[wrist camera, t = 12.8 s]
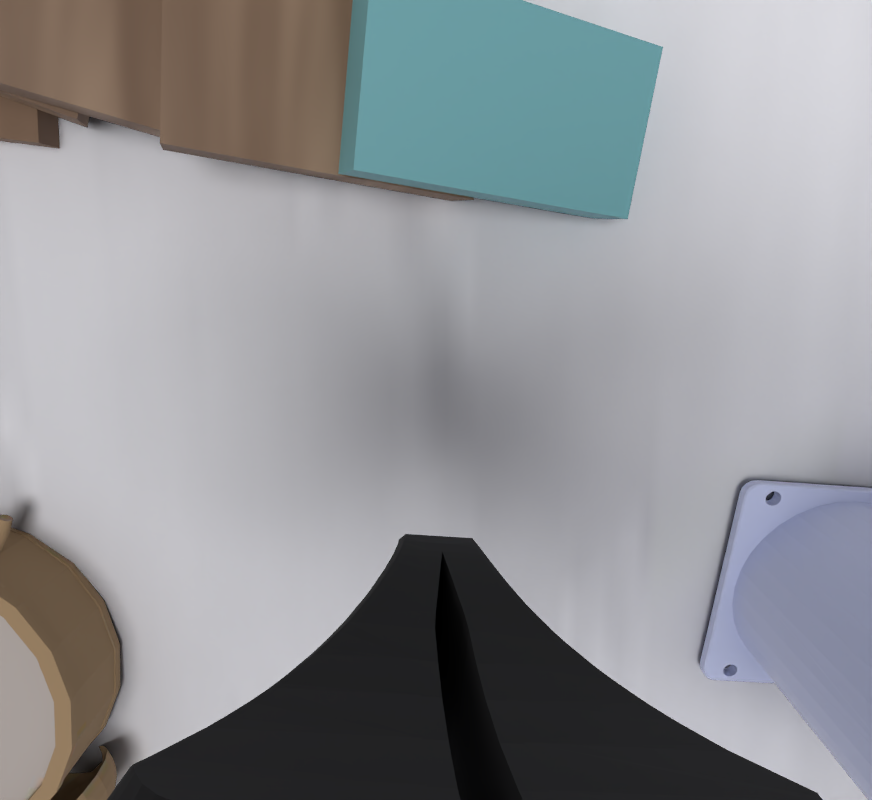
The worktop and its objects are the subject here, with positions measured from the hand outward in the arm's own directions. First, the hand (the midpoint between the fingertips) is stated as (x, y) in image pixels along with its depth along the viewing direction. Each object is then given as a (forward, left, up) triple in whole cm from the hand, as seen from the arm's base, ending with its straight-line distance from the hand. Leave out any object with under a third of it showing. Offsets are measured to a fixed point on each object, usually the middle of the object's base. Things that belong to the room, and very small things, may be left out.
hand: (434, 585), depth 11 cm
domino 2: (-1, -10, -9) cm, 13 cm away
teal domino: (-5, -9, -9) cm, 14 cm away
